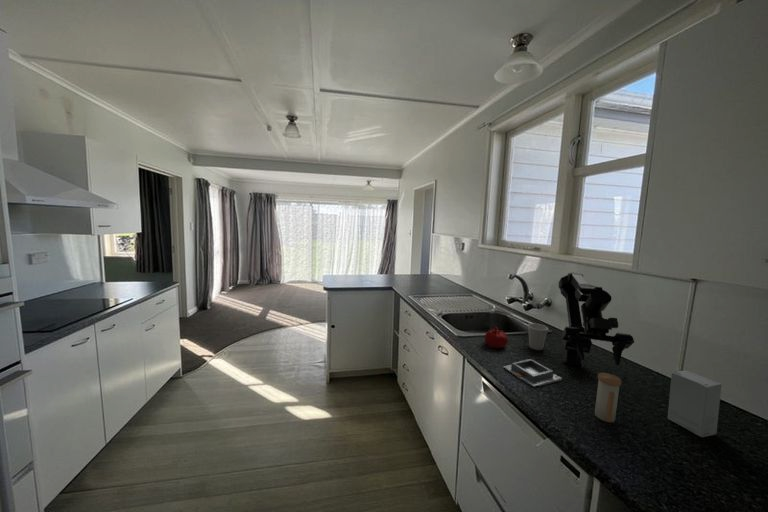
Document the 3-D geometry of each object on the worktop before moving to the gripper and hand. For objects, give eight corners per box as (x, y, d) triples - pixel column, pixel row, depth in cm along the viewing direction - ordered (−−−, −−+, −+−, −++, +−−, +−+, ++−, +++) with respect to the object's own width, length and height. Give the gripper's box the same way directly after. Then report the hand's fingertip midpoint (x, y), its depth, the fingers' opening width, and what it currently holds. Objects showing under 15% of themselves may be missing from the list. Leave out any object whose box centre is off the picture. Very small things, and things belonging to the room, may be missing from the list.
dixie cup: (550, 350, 128) (552, 329, 127) (535, 352, 126) (537, 330, 125) (536, 342, 136) (538, 322, 135) (521, 344, 134) (523, 323, 133)
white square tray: (529, 362, 117) (530, 355, 117) (561, 380, 104) (562, 373, 104) (503, 368, 112) (503, 361, 111) (533, 387, 99) (534, 380, 99)
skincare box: (716, 435, 78) (725, 385, 76) (700, 438, 77) (709, 387, 75) (679, 414, 86) (686, 368, 84) (664, 417, 85) (671, 371, 83)
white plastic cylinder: (590, 408, 88) (595, 371, 87) (611, 413, 86) (616, 374, 85) (597, 421, 83) (602, 381, 81) (620, 426, 81) (625, 385, 79)
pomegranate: (510, 351, 127) (512, 331, 126) (488, 350, 127) (490, 330, 126) (501, 341, 137) (503, 323, 136) (481, 340, 137) (482, 322, 136)
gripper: (567, 303, 96) (572, 348, 88) (635, 310, 90) (648, 359, 81) (559, 318, 105) (564, 360, 96) (621, 325, 98) (632, 371, 90)
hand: (600, 362), depth 90 cm, fingers open, 9 cm apart
